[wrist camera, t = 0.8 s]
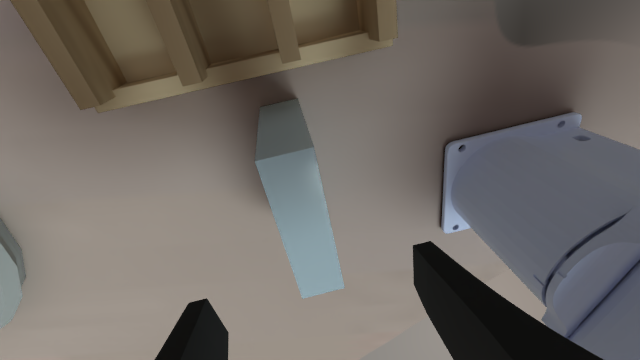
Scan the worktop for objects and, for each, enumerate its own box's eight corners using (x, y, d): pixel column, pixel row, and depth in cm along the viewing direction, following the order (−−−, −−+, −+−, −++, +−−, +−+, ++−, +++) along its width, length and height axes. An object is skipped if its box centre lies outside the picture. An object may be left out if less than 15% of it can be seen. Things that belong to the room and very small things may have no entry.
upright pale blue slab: (297, 98, 16) (313, 147, 10) (322, 207, 21) (344, 287, 15) (259, 107, 16) (254, 161, 10) (292, 215, 20) (302, 298, 14)
